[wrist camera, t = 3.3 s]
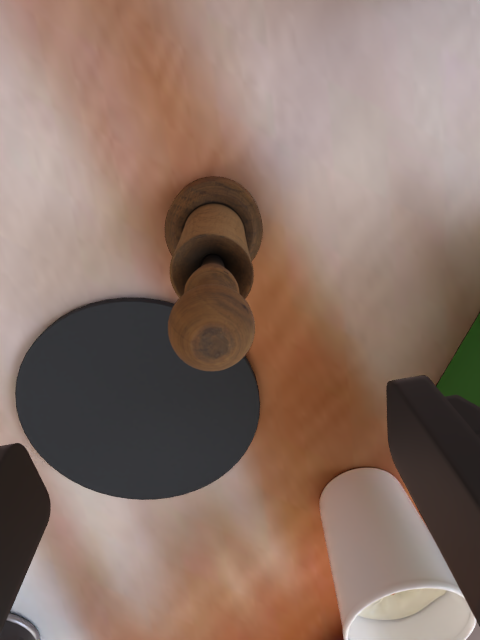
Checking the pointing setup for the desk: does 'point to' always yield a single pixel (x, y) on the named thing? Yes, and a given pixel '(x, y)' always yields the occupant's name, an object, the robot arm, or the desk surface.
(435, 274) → the desk surface
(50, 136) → the desk surface
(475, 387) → the hardback book
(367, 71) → the desk surface
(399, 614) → the white cup
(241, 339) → the brown wooden turned piece
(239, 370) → the disc
